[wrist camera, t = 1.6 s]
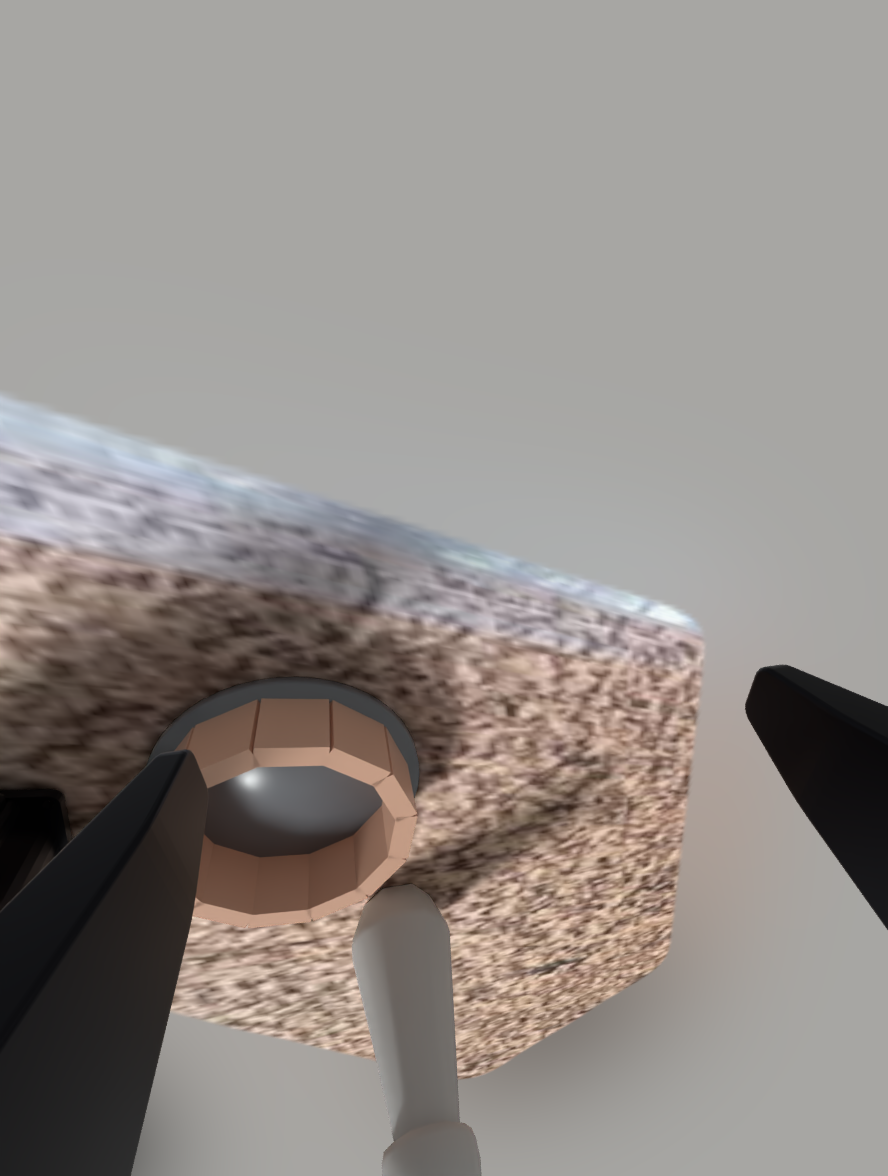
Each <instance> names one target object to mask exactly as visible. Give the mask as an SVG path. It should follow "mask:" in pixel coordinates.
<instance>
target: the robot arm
mask: <svg viewBox="0 0 888 1176" xmlns="http://www.w3.org/2000/svg"><path fill="white" fill-rule="evenodd" d="M745 710H746V714H747V717H748V719H749V721H750V723H751V725H752V726H753V728H754V730H755V732H756V733H757V735H758V736H759V738H760V740H761V742H762V743H763V745H764V747H765V749H766V750H767V752H768V754H769V756H770V757H771V759H772V761H773V762H774V764H775V766H776V768H777V769H778V771H779V773H780V774H781V776H782V778H783V779H784V781H785V783H786V785H787V786H788V788H789V790H790V791H791V793H792V794H793V796H794V798H795V799H796V801H797V803H798V804H799V805H800V807H801V809H802V810H803V812H804V813H805V814H806V816H807V817H808V819H809V820H810V821H811V823H812V824H813V826H814V827H815V829H816V830H817V831H818V833H819V834H820V835H821V837H822V838H823V840H824V841H825V843H826V844H827V845H828V847H829V848H830V850H831V851H832V853H833V854H834V855H835V857H836V858H837V860H839V862H840V864H841V865H842V866H843V868H844V869H845V871H846V872H847V873H848V875H849V876H850V878H851V879H852V881H853V882H854V883H855V885H856V886H857V888H858V889H859V890H860V892H861V893H862V895H863V896H864V897H865V899H866V900H867V902H868V903H869V905H870V906H871V907H872V909H873V910H874V912H875V913H876V914H877V916H878V917H879V918H880V920H881V921H882V923H883V924H884V925H885V927H886V928H887V930H888V706H885V705H883V704H881V703H878V702H876V701H873V700H871V699H868V698H866V697H864V696H861V695H859V694H856V693H854V692H852V691H849V690H847V689H844V688H842V687H840V686H837V685H834V684H832V683H830V682H827V681H825V680H823V679H820V678H818V677H815V676H813V675H811V674H808V673H806V672H803V671H801V670H799V669H796V668H794V667H791V666H788V665H775V666H768V667H763V668H760V669H759V670H758V671H757V673H756V675H755V678H754V681H753V683H752V686H751V689H750V692H749V695H748V698H747V700H746V704H745ZM207 806H208V789H207V785H206V782H205V780H204V778H203V775H202V773H201V770H200V768H199V765H198V763H197V760H196V758H195V756H194V754H193V753H192V752H191V751H190V750H187V749H183V750H176V751H169V752H163V753H160V754H159V755H157V756H156V757H155V758H154V759H153V760H152V761H151V762H150V763H149V764H148V765H147V766H146V767H145V768H144V769H143V770H142V771H141V772H140V773H139V774H138V775H137V776H136V777H135V778H134V779H133V780H132V781H131V782H130V783H128V784H127V785H126V786H125V787H124V788H123V789H122V790H121V791H120V792H119V793H118V794H117V795H116V796H115V797H114V798H113V799H112V800H111V801H110V802H109V803H108V804H107V805H106V806H105V807H104V808H103V809H102V810H101V811H100V812H99V813H98V814H97V815H96V816H95V817H94V818H93V819H92V820H91V821H90V822H89V823H88V824H87V825H86V826H85V827H84V828H83V829H82V830H81V831H80V832H79V833H78V834H77V835H76V836H75V837H74V838H73V839H72V834H71V829H70V824H69V819H68V813H67V808H66V803H65V798H64V795H63V794H62V793H61V792H60V791H57V790H54V789H38V790H6V791H0V1176H131V1172H132V1168H133V1164H134V1159H135V1155H136V1151H137V1147H138V1143H139V1138H140V1134H141V1130H142V1126H143V1122H144V1118H145V1113H146V1109H147V1105H148V1101H149V1097H150V1092H151V1088H152V1084H153V1080H154V1076H155V1071H156V1067H157V1063H158V1059H159V1055H160V1051H161V1047H162V1042H163V1038H164V1034H165V1030H166V1026H167V1021H168V1017H169V1013H170V1009H171V1005H172V1001H173V996H174V992H175V988H176V984H177V980H178V976H179V971H180V967H181V963H182V959H183V955H184V950H185V946H186V942H187V938H188V934H189V930H190V925H191V920H192V916H193V911H194V905H195V898H196V892H197V884H198V876H199V869H200V861H201V853H202V845H203V838H204V830H205V822H206V814H207Z"/></svg>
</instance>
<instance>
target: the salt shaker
mask: <svg viewBox="0 0 888 1176" xmlns="http://www.w3.org/2000/svg"><path fill="white" fill-rule="evenodd" d="M352 957H353V964H354V968H355V973H356V977H357V981H358V985H359V989H360V993H361V998H362V1002H363V1006H364V1010H365V1014H366V1019H367V1023H368V1027H369V1031H370V1035H371V1039H372V1044H373V1048H374V1053H375V1057H376V1062H377V1066H378V1070H379V1075H380V1080H381V1084H382V1089H383V1093H384V1098H385V1103H386V1107H387V1112H388V1116H389V1121H390V1126H391V1130H392V1134H393V1139H394V1142H393V1143H392V1144H391V1145H390V1146H389V1147H388V1148H387V1149H386V1150H385V1152H384V1155H383V1160H382V1176H481V1162H480V1155H479V1150H478V1146H477V1141H476V1137H475V1135H474V1133H473V1130H472V1128H471V1127H469V1126H468V1125H467V1124H465V1123H460V1119H459V1118H460V1117H459V1101H458V1100H459V1099H458V1080H457V1061H456V1042H455V1023H454V1005H453V986H452V967H451V948H450V931H449V928H448V925H447V922H446V920H445V919H444V917H443V916H442V914H441V913H440V911H439V910H438V908H437V906H436V905H435V903H434V902H433V900H432V899H431V897H430V896H429V894H427V893H426V892H424V891H423V890H421V889H420V888H418V887H416V886H415V885H413V884H407V885H401V886H395V887H389V888H383V889H382V890H381V891H379V892H378V893H377V894H376V895H375V896H374V897H373V898H372V899H371V900H370V901H369V902H368V903H367V904H366V905H365V906H364V908H363V911H362V914H361V917H360V920H359V923H358V926H357V929H356V932H355V935H354V938H353V944H352Z"/></svg>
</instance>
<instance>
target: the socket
mask: <svg viewBox="0 0 888 1176" xmlns="http://www.w3.org/2000/svg"><path fill="white" fill-rule="evenodd" d="M183 749H187V750H190V751H191V752H192V753H193V754H194V756H195V758H196V760H197V763H198V765H199V768H200V770H201V773H202V775H203V778H204V780H205V782H206V785H207V789H208V806H207V814H206V822H205V830H204V838H203V845H202V853H201V861H200V869H199V876H198V884H197V892H196V898H195V905H194V911H193V916H194V917H199V918H203V919H207V920H212V921H216V922H221V923H225V924H229V925H234V926H238V927H243V928H245V927H246V926H247V925H248V924H249V925H248V928H255V927H265V926H274V925H284V924H294V923H304V922H310V921H311V918H312V919H313V920H314V921H315V920H317V919H320V918H322V917H324V916H327V915H329V914H331V913H334V912H336V911H338V910H341V909H343V908H345V907H348V906H350V905H352V904H355V903H357V902H359V901H362V900H364V899H366V898H368V895H369V896H371V895H372V894H373V893H374V892H375V891H376V890H377V889H378V888H379V887H380V886H381V885H382V884H383V883H384V882H385V881H386V880H387V879H388V878H389V877H390V876H391V875H392V874H393V873H395V872H396V871H397V870H398V869H399V868H400V867H401V866H402V865H403V864H404V863H405V862H406V861H407V860H406V858H408V856H409V852H410V847H411V843H412V838H413V834H414V830H415V825H416V821H417V811H416V805H415V800H414V798H415V794H416V791H417V788H418V782H419V762H418V757H417V753H416V749H415V744H414V741H413V739H412V737H411V735H410V732H409V731H408V729H407V727H406V726H405V724H404V723H403V721H402V720H401V719H400V718H399V717H398V716H397V715H396V714H395V713H394V712H393V710H391V709H390V708H389V707H388V706H386V705H385V704H384V703H382V702H381V701H380V700H378V699H376V698H375V697H373V696H371V695H369V694H368V693H366V692H363V691H361V690H359V689H356V688H354V687H351V686H348V685H345V684H341V683H338V682H334V681H329V680H323V679H318V678H305V677H279V678H270V679H263V680H256V681H252V682H248V683H244V684H240V685H236V686H233V687H231V688H228V689H225V690H222V691H219V692H217V693H215V694H213V695H211V696H209V697H207V698H205V699H203V700H201V701H200V702H198V703H197V704H195V705H193V706H192V707H190V708H189V709H187V710H186V711H185V712H184V713H182V714H181V715H180V716H179V717H178V718H176V719H175V720H174V721H173V722H172V723H171V724H170V726H169V727H168V728H167V729H166V730H165V731H164V732H163V733H162V735H161V737H160V738H159V740H158V741H157V743H156V744H155V746H154V748H153V750H152V753H151V755H150V758H149V760H148V763H147V765H148V764H149V763H150V762H151V761H152V760H153V759H154V758H155V757H156V756H157V755H159V754H160V753H163V752H169V751H176V750H183ZM147 765H146V766H147Z"/></svg>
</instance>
